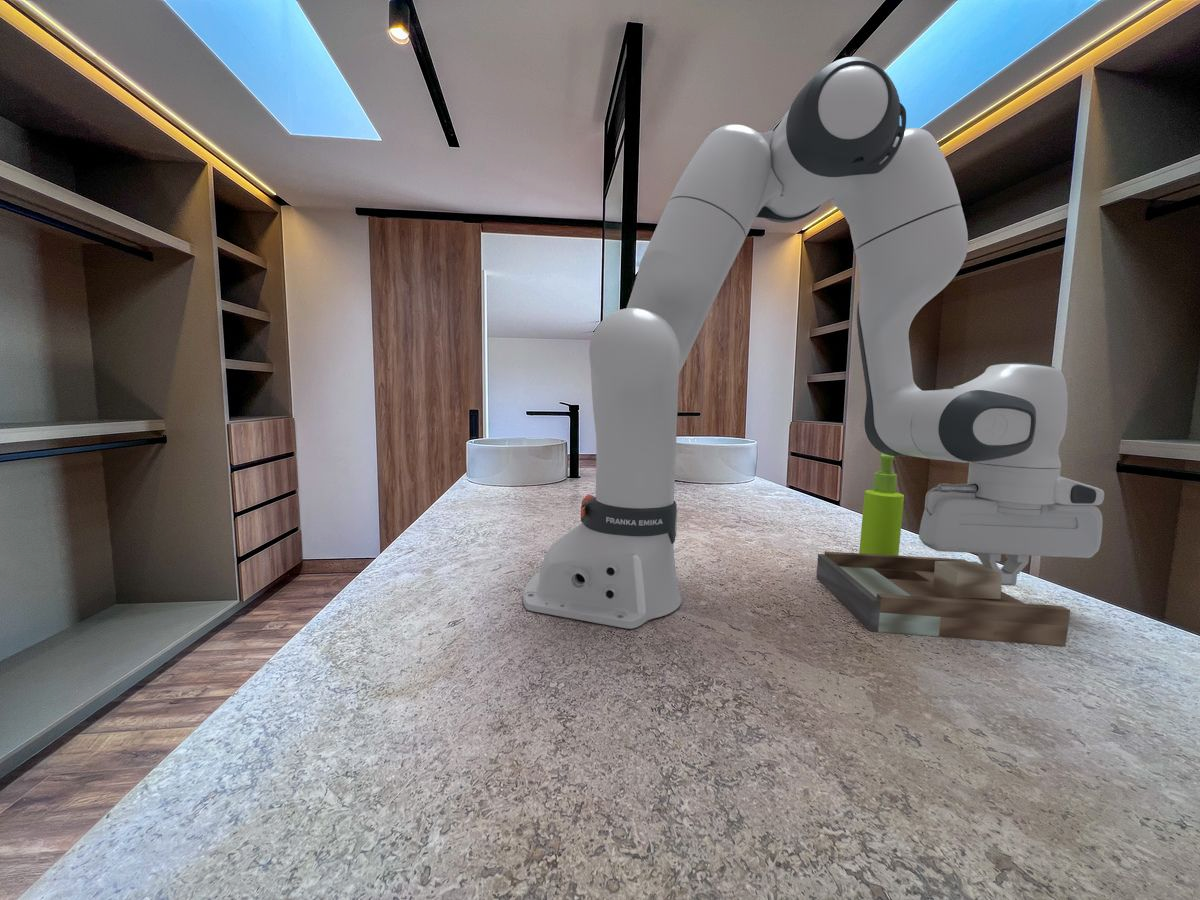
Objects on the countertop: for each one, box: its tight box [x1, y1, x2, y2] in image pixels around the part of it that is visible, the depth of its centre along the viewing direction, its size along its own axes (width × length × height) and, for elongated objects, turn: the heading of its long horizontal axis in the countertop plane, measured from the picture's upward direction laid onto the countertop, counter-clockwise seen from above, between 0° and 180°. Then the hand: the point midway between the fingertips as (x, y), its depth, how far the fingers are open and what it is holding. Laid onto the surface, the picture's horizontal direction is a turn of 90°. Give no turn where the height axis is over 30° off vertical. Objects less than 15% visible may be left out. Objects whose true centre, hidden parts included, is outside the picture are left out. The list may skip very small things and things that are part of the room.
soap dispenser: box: [858, 452, 905, 556], centre depth 76 cm, size 6×7×20 cm
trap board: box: [815, 551, 1071, 647], centre depth 60 cm, size 22×17×4 cm
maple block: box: [934, 560, 1002, 599], centre depth 59 cm, size 6×4×4 cm
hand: (999, 583), depth 59 cm, fingers closed
